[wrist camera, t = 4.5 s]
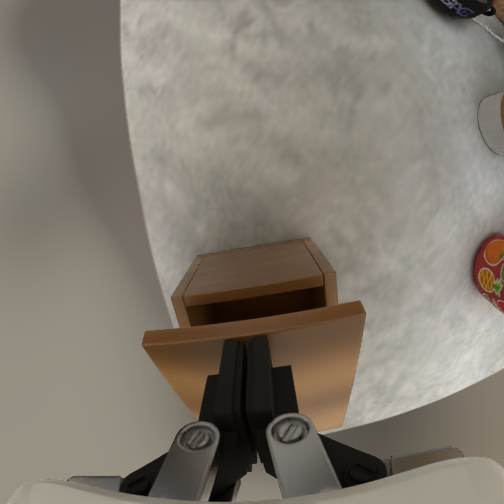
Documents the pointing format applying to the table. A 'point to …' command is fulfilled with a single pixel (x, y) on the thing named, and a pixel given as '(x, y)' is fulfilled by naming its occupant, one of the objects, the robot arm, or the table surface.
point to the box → (255, 284)
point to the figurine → (499, 9)
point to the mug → (468, 10)
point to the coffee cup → (492, 121)
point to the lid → (272, 356)
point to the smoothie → (491, 271)
